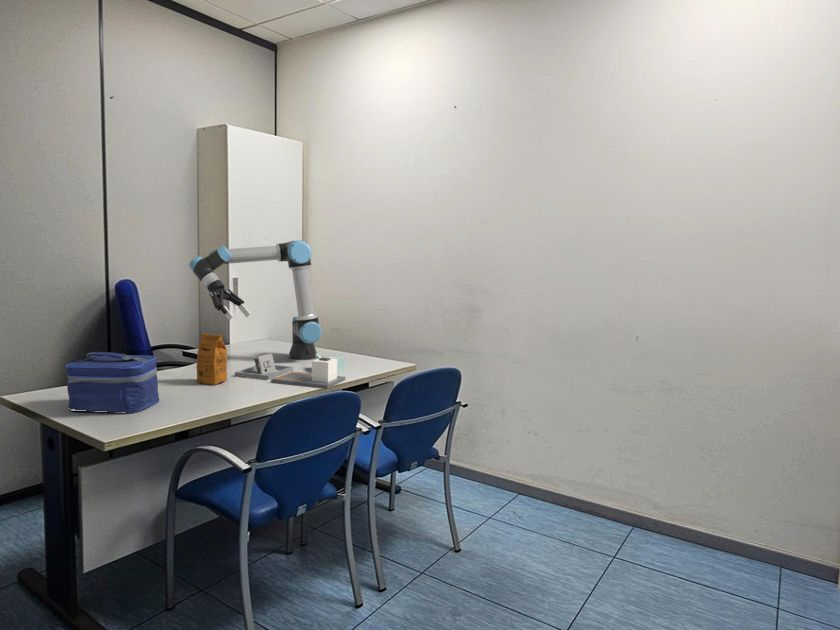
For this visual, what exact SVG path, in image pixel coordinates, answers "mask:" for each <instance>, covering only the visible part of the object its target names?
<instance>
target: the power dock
mask: <svg viewBox="0 0 840 630" xmlns="http://www.w3.org/2000/svg"><path fill="white" fill-rule="evenodd" d="M321 357H322V358H319V359H316V358H315V359H314V360H312V361H311V372H310V373H309V372H299V371H291V372H288V373H286V374H283V375H280V376H277V377H275V378H272V379H270V383H271V384H283V385H291V386H292V385H293V386H300V387H309V388H310V387H311V388H319V389H330V388H332V387H333V386H335V385H337V384H340V383H341V382H344V381H346V376H341V375H339V376H338V372H337V359H331V358H329V357H325V356H324V357H323V356H321Z"/></svg>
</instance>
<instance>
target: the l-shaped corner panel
mask: <svg viewBox="0 0 840 630" xmlns="http://www.w3.org/2000/svg"><path fill="white" fill-rule="evenodd" d="M322 357H323V356H321V355H320V354H319V353H317V354H316V358H315V360H316V359H319V358H322ZM328 358H331V359H337V373H345V356H332V357H331V356H330V357H328Z"/></svg>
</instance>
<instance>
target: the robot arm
mask: <svg viewBox="0 0 840 630" xmlns="http://www.w3.org/2000/svg"><path fill="white" fill-rule="evenodd" d="M312 253H313V252H312V249H311V246H310V245H309V244H308V243H307V242H305V241H303V240H299V239H298V240H291V241H290V240H289V241H287V242H282V243H281V242H280V243H276V244H275V245H268V246H267V245H266V246H256V247H255V246H253V247H252V246H251V247H242V248H241V247H240V248H239V247H238V248H237V247H236V248H227V247H226V246H224V245H221V246H220V247H218V248H217V249H213V250H210V252H209V254H208V255H207V256H205V257H204V258H203V257H202V256H196V257H194V258H192V259H191V260H190V262H189V263H188V264H189V265H188V266H189V268H190V270H191V271H192V273H194V275H195V276H196V277H197V279H198V280H199V281H200V282H201V283H202V285H203V286H204V287H205V288H206V289H207V291H208V292H209V297H210V298H211V301H212V304H213V306H214V308H215V309H216V310H217V311H221V312H222V314H223V315H224V316H225V317H226V319H227V320H228V321H230V320H232V319H233V317H234V315H233V314H232V312H231V311H230V310H229V309H228V307H227V306H226V305H224V300H225V301H227V302H228V301H229V302H230V303H232V304H234V305H235V306H237V307H238V309H239V310H240V312H241V313H242V314H243V315H244V317H245V318H248V317H249V316H250V315H251V312H250V311H249V310H248V309H247V308H246V306H245V305H244V303H245V301H244V300H243V299H242V298H241V297H239V296H237V294H236V293H234V292H233V291H232V290H231V289H228V290H226V289H225V284H224V282H223V281H222V280H221V279H220V278H219V276H217V274H216V272H215V270H217V269H218V268H220V267H221V266H223V265H228V264H240V263H254V262H255V263H256V262H267V261H278V263H279V262H280V263H281V262H287V263H288V264H287V265H288V269H290V270H291V272H292V278H293V286H294V293H295V294H294V295H295V300H296V308H297V316H293V317H292V321H291V323H292V325H291V326H292V332H291V333H292V337H291V338H292V340H291V341H292V343H291V347H290V350H289V353H288V356H289V358H290V359H291V360H301V359H304V360H312V358H313V359H316V354H318V353H317V350H316V347H315V344H314V343H316V342H318V341H319V340H320V339H321V337H322V334H323V330H322V327H321V325H320V321H319V316H318V315H317V314H316V313H315V306H314V305H315V304H314V299H313V291H312V283H311V276H310V268H311V266H312V262H311V257H312Z"/></svg>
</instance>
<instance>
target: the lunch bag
mask: <svg viewBox="0 0 840 630" xmlns="http://www.w3.org/2000/svg"><path fill="white" fill-rule="evenodd" d="M85 357H86V358H85V359H81V360H77V361H74V362H71V363H68V364H66V365H65V369H66V374H67V375H66V376H67V379H66V380H67V381H66V388H67V394H68V408H70V409H75V410H86V411H107V412H125V413H124V414H132V413H131V412H136V413H138V411H139V412H141V410H142V411H144V410H143V409H145V408H146V409H148V408H149V406H150V407H152V406H153V405H156V403H159V402H160V397H159V386H158V385H159V384H158V375H157V372H158V371H157V369H158V367H157V356H155V355H143V354H141V355H140V354H138V355H137V354H136V355H135V354H131V355H129V354H128V355H127V354H125V353H118V352H103V351H93V352H88V353H87V354H86V355H85ZM147 407H148V408H147ZM146 409H145V410H146ZM126 412H128V413H126Z"/></svg>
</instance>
